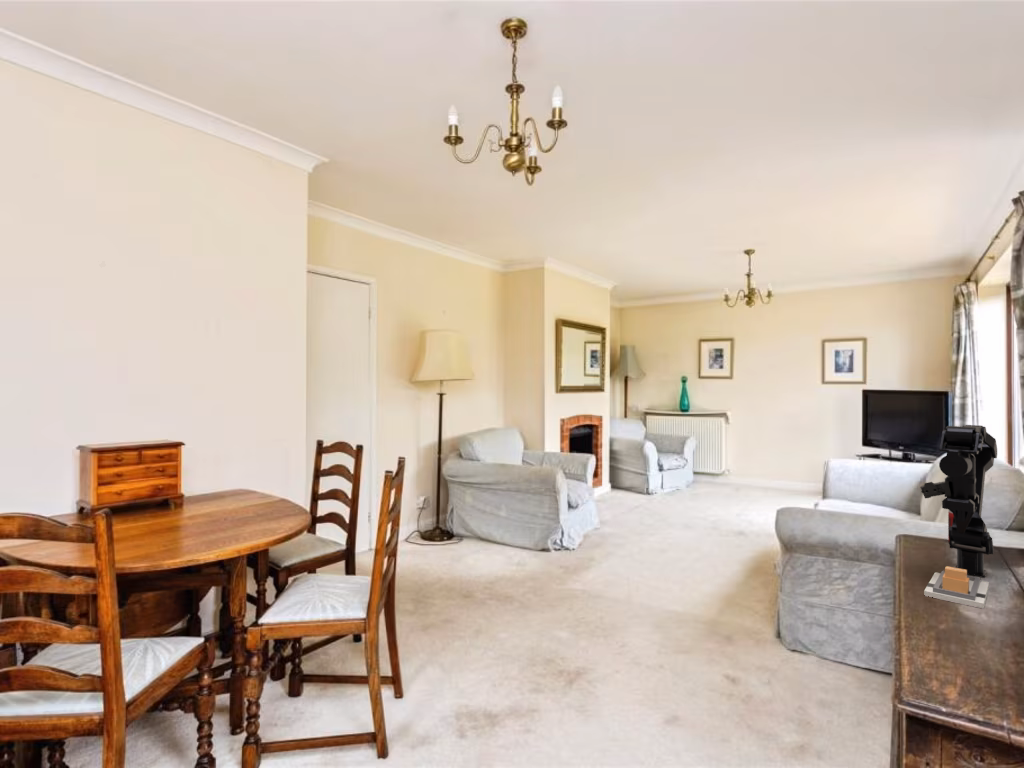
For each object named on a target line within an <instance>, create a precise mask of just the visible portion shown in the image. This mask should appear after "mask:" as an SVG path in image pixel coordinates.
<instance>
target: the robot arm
mask: <svg viewBox="0 0 1024 768" xmlns="http://www.w3.org/2000/svg"><path fill="white" fill-rule="evenodd" d="M939 452H941V453H942V452H943V453H946V455H945V456H943V457H942V458H941V459H940V461H939V463H938V466H939V470H940V471H941V472H942V473H943V475H944V476H946V477H944V481H939V482H935V483H934V482H933V481H929V482H924V484H923V485H921V486H920V490H921V494H923V497H924V499H929V498H930V499H931V498H932V497H938V496H943V495H944V497H945V498H944V499H942V500H941V502H942V503H941V509H943V510H948V511H949V510H950V511H951V512H952V513H953V515H954V517H953V523H952V527H951V526H950V527H949V540H948V544H949V549H956V565H955V567H954V568H959V569H965V570H967V575H969V576H975V577H980V578H981V577H983V578H985V577H986V574H987V570H986V569H984V568H985V567H984V564H985V563H984V561H985V560H984V559H985V558H984V557H985V556H984V555H987V556H989V555H993V554H994V543H993V537H992V536H991V535H990V532H988V528H987V526H986V523H985V521H984V520H983V519H982V511H983V510H982V508H983V499H984V490H985V479H986V472H988V471H989V470H990V469H991V468H992V467H994V465H995V464H994V462H995V459H998V446H997V440H996V438H995V437H994V436H992V435H991V434H990V433H988V432H987V428H986V426H983V425H976V424H975V425H974V424H966V425H962V426H960V425H958V426H957V425H956V426H955V425H954V426H953V425H947V426H946V427H945V429H943V430H942V433H941V438H940V445H939Z"/></svg>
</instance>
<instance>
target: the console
mask: <svg viewBox="0 0 1024 768" xmlns="http://www.w3.org/2000/svg"><path fill="white" fill-rule="evenodd" d="M944 573H945V570H942V571H941V572H934V574H933V575H932V577H931V579H930V580H929V582H928V583H927V585H926V587H925V589H924V590H923V594H924V595H925V596H924V595H923V596H924V597H928V596H929V598H932V597H933V598H934V599H937V600H941V601H947V602H952V603H956V604H960V605H964V606H965V605H966V606H970V607H973V608H974V607H975V608H979V609H985V606H986V601H987V597H988V593H989V588H990V582H989V581H983V580H981V577H980V576H975V575H970V574H967V578H969V593H968V594H965V593H960V592H955V591H951V590H946V589H943V575H944Z"/></svg>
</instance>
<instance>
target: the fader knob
mask: <svg viewBox="0 0 1024 768" xmlns="http://www.w3.org/2000/svg"><path fill="white" fill-rule="evenodd" d="M944 571H945V573H944V575H943V589H946V590H951V591H955V592H960V593H965V594H968V593H969V578H967V575H968V574H967V570H965V569H959V568H955V567H953V566H948V565H947V566H945V568H944Z"/></svg>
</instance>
